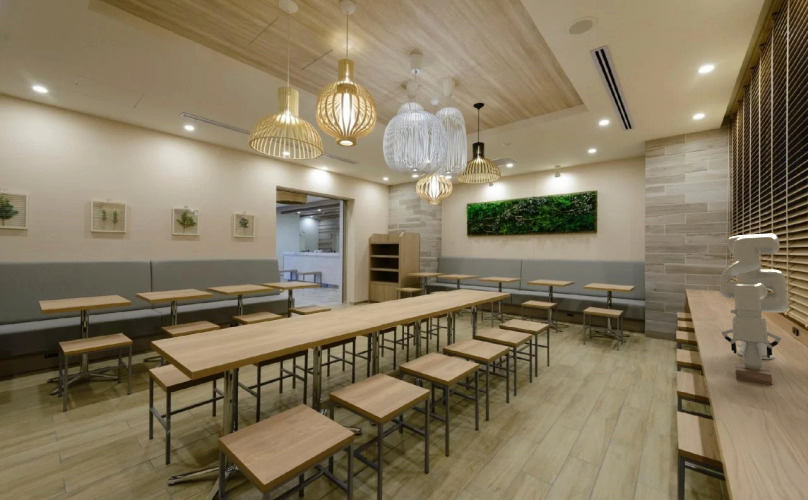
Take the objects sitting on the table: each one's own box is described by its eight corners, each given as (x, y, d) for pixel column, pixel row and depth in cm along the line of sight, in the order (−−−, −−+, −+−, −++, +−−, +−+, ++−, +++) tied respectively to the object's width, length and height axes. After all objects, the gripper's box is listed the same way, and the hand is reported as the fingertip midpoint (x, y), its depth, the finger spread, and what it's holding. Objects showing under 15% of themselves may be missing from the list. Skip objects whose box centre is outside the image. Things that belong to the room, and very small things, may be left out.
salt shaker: (767, 371, 135) (765, 339, 135) (751, 370, 136) (749, 338, 136) (754, 366, 140) (753, 335, 141) (739, 366, 141) (737, 335, 142)
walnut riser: (736, 372, 145) (735, 363, 145) (770, 377, 138) (769, 367, 138) (736, 379, 138) (735, 369, 138) (772, 385, 131) (771, 374, 131)
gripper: (718, 313, 142) (721, 353, 142) (779, 317, 129) (783, 361, 129) (720, 310, 147) (723, 349, 147) (779, 314, 135) (782, 356, 134)
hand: (751, 354), depth 138 cm, fingers open, 9 cm apart
